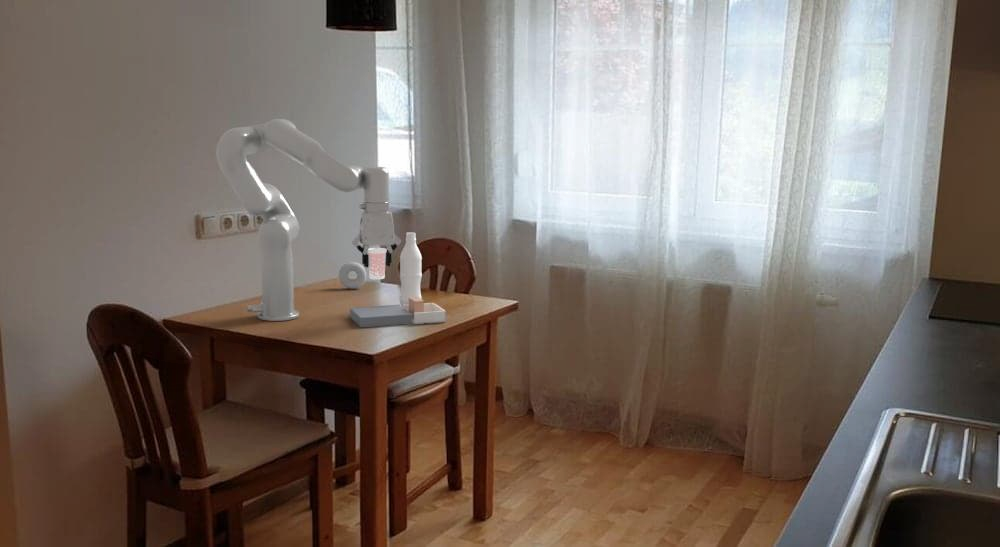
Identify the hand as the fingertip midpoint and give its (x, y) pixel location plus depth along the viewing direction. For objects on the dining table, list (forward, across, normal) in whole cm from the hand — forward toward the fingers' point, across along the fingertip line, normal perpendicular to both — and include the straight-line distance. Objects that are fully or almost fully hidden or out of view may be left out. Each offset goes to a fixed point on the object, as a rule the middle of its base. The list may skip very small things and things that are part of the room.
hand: (376, 265), depth 275 cm
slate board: (+17, +1, -1) cm, 17 cm away
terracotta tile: (+14, +10, -3) cm, 17 cm away
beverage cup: (+4, 0, 0) cm, 4 cm away
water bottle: (+17, +15, +13) cm, 26 cm away
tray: (+17, +14, -3) cm, 23 cm away
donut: (+17, +4, +48) cm, 51 cm away
